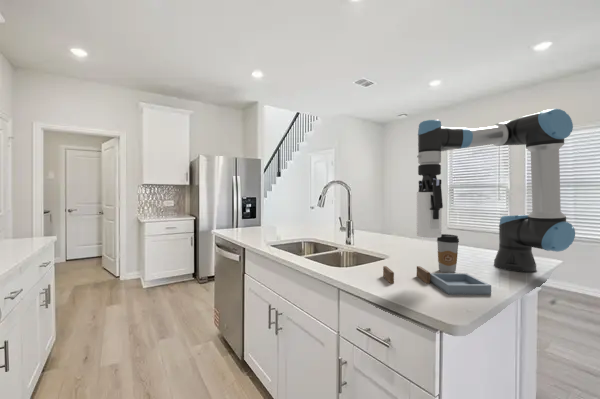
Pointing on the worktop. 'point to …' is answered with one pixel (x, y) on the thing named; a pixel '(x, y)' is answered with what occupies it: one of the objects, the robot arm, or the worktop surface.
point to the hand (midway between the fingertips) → (429, 226)
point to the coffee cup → (447, 252)
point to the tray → (459, 284)
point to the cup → (426, 216)
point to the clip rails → (421, 274)
